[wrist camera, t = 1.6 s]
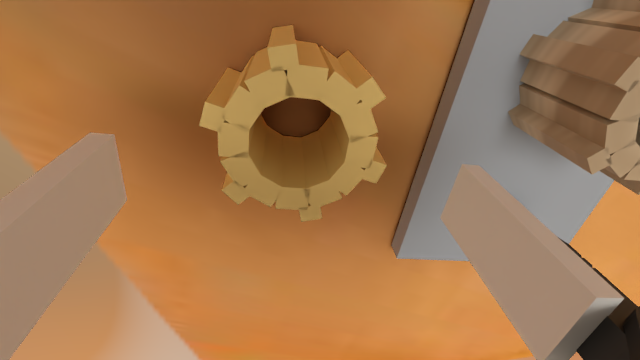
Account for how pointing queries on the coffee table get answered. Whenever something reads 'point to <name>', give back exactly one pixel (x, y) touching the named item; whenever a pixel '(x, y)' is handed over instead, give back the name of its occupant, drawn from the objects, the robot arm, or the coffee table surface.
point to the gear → (587, 90)
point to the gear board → (494, 134)
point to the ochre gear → (295, 152)
